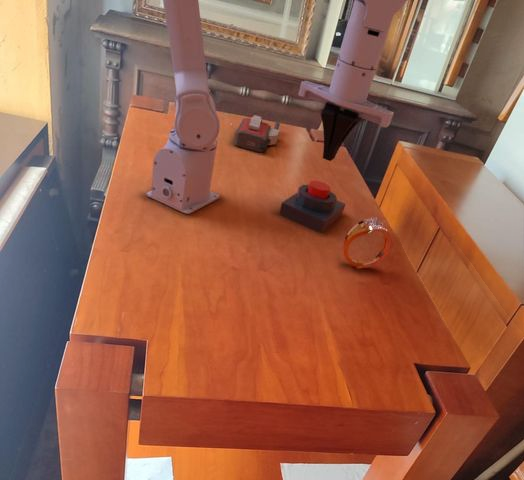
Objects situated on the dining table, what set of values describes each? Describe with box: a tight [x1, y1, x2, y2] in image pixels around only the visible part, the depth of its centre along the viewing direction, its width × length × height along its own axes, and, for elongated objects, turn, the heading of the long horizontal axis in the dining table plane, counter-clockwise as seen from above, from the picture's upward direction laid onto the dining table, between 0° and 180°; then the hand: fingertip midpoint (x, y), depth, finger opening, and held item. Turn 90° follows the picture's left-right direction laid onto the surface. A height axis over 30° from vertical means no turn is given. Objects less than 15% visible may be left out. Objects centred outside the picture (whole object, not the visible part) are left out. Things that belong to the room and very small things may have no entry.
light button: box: [307, 180, 331, 199], centre depth 81 cm, size 4×4×2 cm
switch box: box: [278, 184, 346, 234], centre depth 83 cm, size 10×8×4 cm
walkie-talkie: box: [233, 114, 281, 153], centre depth 107 cm, size 9×4×20 cm
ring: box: [342, 216, 392, 270], centre depth 71 cm, size 7×3×8 cm, turn 93°
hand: (328, 158), depth 78 cm, fingers closed
